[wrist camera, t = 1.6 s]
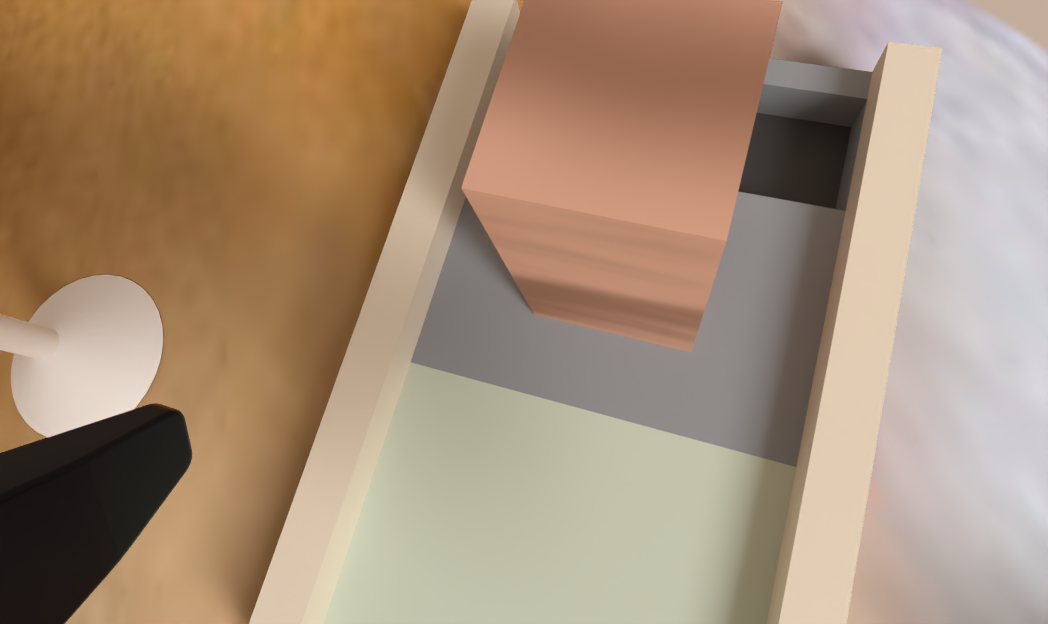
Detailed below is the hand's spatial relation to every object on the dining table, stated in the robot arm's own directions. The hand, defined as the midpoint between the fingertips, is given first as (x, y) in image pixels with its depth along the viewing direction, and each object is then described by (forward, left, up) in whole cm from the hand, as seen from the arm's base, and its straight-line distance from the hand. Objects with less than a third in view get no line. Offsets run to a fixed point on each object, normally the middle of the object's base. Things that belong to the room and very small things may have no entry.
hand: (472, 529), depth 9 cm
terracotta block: (+5, +6, -11) cm, 14 cm away
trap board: (+2, +3, -13) cm, 14 cm away
